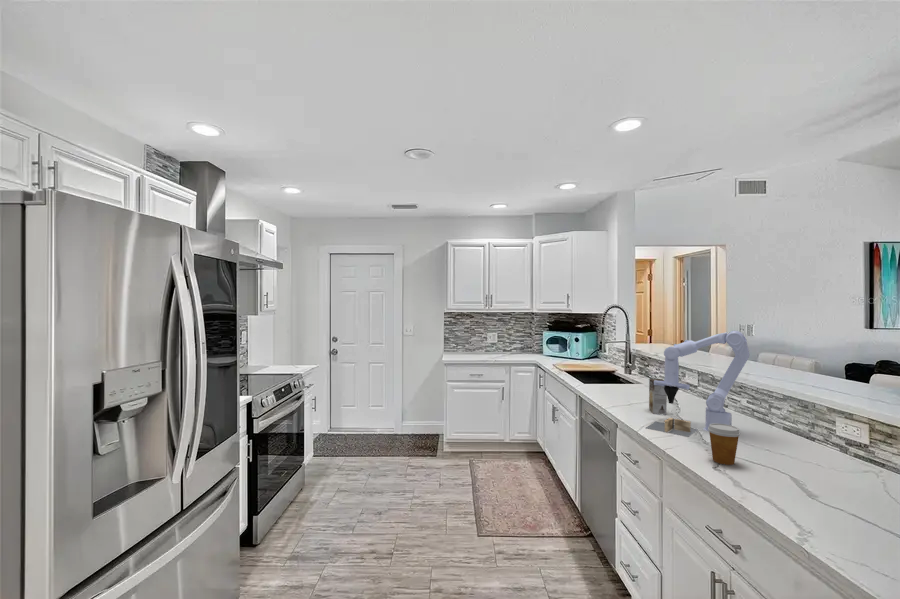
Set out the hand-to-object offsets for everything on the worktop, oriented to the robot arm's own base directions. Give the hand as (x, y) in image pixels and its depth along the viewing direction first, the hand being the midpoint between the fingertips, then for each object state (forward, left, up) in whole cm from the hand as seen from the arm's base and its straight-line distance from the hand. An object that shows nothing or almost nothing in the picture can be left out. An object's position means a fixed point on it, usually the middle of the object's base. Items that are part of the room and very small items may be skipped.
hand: (671, 403), depth 194 cm
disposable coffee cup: (-27, +38, -10) cm, 48 cm away
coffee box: (+11, -18, -10) cm, 23 cm away
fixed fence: (-7, +10, -9) cm, 15 cm away
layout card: (-3, +11, -9) cm, 14 cm away
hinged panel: (-3, +13, -8) cm, 16 cm away
